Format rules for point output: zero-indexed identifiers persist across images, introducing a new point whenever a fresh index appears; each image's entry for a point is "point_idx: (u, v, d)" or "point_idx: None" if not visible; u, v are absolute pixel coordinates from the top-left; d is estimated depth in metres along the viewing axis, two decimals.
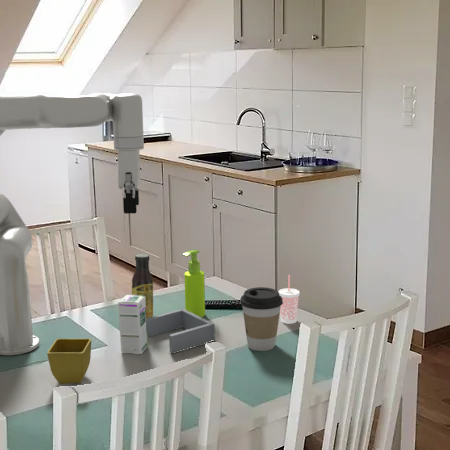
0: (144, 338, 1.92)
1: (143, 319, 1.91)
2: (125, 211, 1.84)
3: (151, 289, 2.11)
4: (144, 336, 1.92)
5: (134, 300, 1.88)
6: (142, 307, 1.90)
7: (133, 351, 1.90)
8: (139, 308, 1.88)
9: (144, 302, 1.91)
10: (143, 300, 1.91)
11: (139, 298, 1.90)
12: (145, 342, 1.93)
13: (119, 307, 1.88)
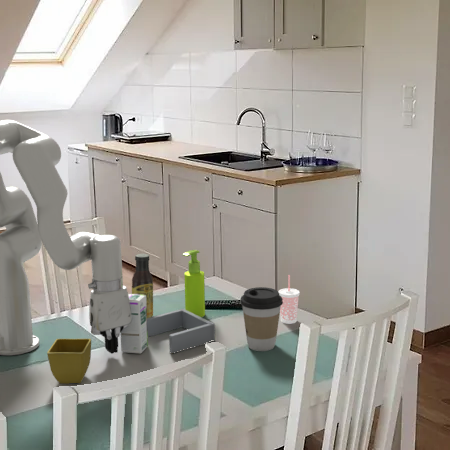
0: (145, 337, 1.92)
1: (144, 317, 1.91)
2: None
3: (151, 289, 2.11)
4: (144, 335, 1.92)
5: (135, 298, 1.89)
6: (143, 306, 1.90)
7: (133, 350, 1.90)
8: (140, 306, 1.88)
9: (145, 301, 1.92)
10: (144, 299, 1.91)
11: (140, 296, 1.91)
12: (145, 342, 1.93)
13: None
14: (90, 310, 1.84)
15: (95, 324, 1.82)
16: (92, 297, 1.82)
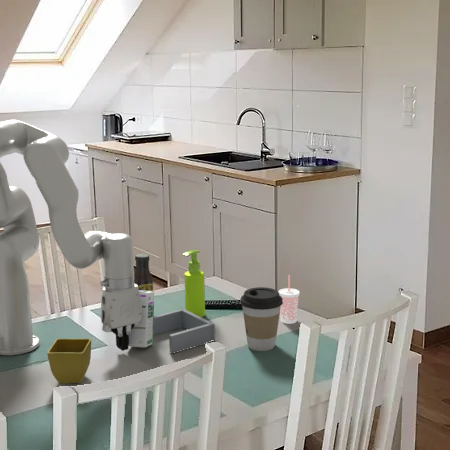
0: (150, 333, 1.94)
1: (151, 313, 1.94)
2: None
3: (151, 289, 2.11)
4: (150, 331, 1.94)
5: (143, 291, 1.93)
6: (150, 300, 1.94)
7: (138, 344, 1.92)
8: (148, 298, 1.92)
9: (153, 297, 1.96)
10: (152, 294, 1.95)
11: (148, 291, 1.95)
12: (150, 338, 1.94)
13: None
14: (102, 307, 1.86)
15: (107, 321, 1.84)
16: (103, 294, 1.85)
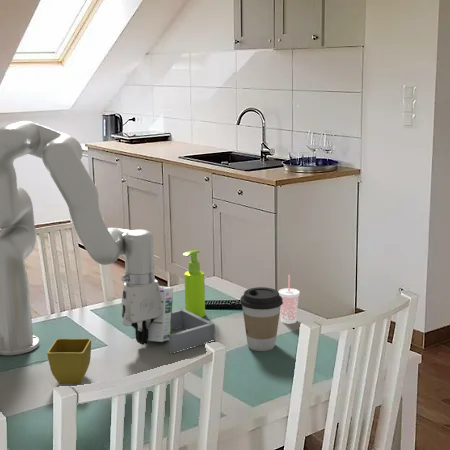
0: (168, 328, 1.97)
1: (169, 308, 1.97)
2: None
3: None
4: (167, 326, 1.97)
5: (162, 287, 1.96)
6: (169, 296, 1.97)
7: (155, 338, 1.95)
8: (166, 294, 1.95)
9: (171, 293, 1.99)
10: (170, 290, 1.98)
11: (167, 287, 1.98)
12: (167, 333, 1.97)
13: None
14: (122, 302, 1.89)
15: (127, 316, 1.88)
16: (124, 289, 1.88)
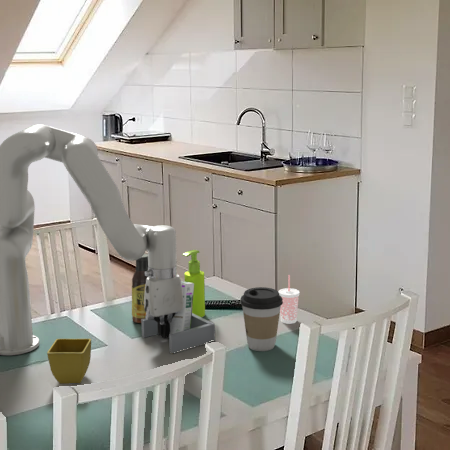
0: (188, 323, 2.01)
1: (189, 303, 2.01)
2: None
3: None
4: (188, 320, 2.01)
5: (183, 282, 2.00)
6: (189, 291, 2.01)
7: (175, 332, 1.99)
8: (187, 289, 1.99)
9: (192, 288, 2.03)
10: (191, 285, 2.02)
11: (188, 282, 2.02)
12: (188, 327, 2.01)
13: None
14: (145, 296, 1.93)
15: (150, 310, 1.92)
16: (147, 284, 1.92)
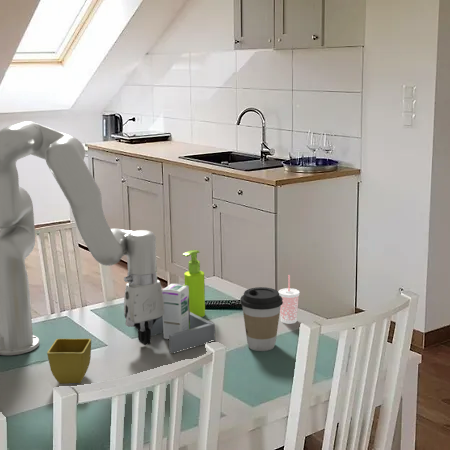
0: (186, 326, 2.00)
1: (185, 307, 1.99)
2: None
3: None
4: (185, 324, 2.00)
5: (176, 289, 1.97)
6: (184, 296, 1.98)
7: None
8: (180, 296, 1.96)
9: (187, 291, 1.99)
10: (186, 289, 1.99)
11: (182, 287, 1.98)
12: None
13: None
14: (125, 303, 1.90)
15: (130, 316, 1.89)
16: (127, 290, 1.89)
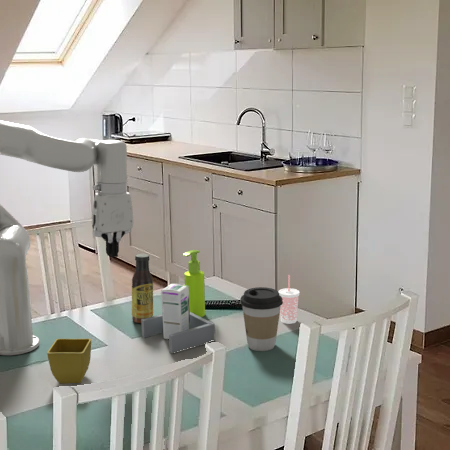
0: (186, 326, 2.00)
1: (185, 307, 1.99)
2: None
3: (151, 289, 2.11)
4: (185, 324, 2.00)
5: (176, 289, 1.97)
6: (184, 296, 1.98)
7: None
8: (180, 296, 1.96)
9: (187, 291, 1.99)
10: (186, 289, 1.99)
11: (182, 287, 1.98)
12: None
13: (162, 294, 1.97)
14: (93, 212, 1.88)
15: (97, 225, 1.87)
16: (95, 199, 1.87)
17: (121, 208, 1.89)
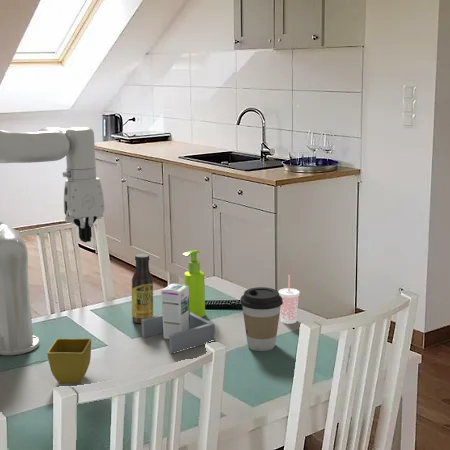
0: (186, 326, 2.00)
1: (185, 307, 1.99)
2: None
3: (151, 289, 2.11)
4: (185, 324, 2.00)
5: (176, 289, 1.97)
6: (184, 296, 1.98)
7: None
8: (180, 296, 1.96)
9: (187, 291, 1.99)
10: (186, 289, 1.99)
11: (182, 287, 1.98)
12: None
13: (162, 295, 1.97)
14: (64, 199, 1.92)
15: (69, 211, 1.91)
16: (66, 185, 1.91)
17: (91, 193, 1.93)
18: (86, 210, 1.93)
